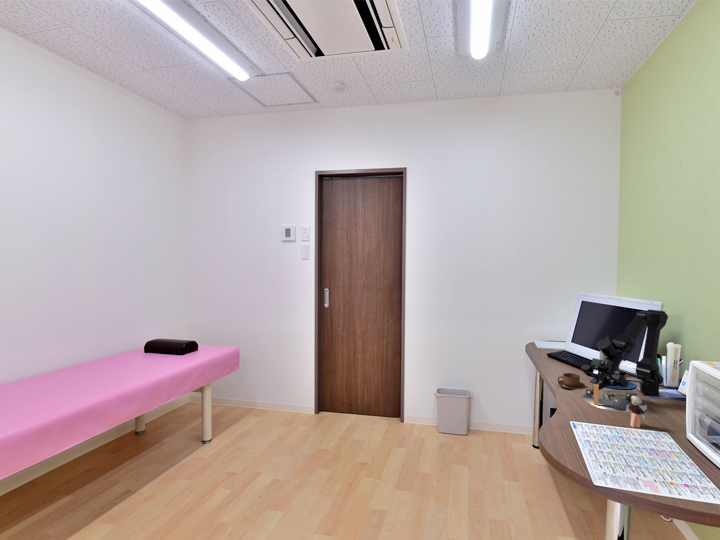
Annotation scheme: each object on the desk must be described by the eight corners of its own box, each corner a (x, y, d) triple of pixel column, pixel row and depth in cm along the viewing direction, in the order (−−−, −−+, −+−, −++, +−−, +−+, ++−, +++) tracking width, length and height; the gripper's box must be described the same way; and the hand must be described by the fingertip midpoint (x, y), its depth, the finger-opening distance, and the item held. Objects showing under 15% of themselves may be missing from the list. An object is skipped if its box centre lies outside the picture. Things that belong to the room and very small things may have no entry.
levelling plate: (636, 397, 183) (636, 386, 182) (656, 417, 160) (656, 405, 160) (577, 392, 190) (577, 381, 190) (588, 411, 168) (588, 399, 168)
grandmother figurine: (622, 425, 153) (622, 393, 153) (629, 424, 155) (629, 392, 154) (642, 434, 146) (642, 400, 146) (649, 432, 148) (650, 398, 147)
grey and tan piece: (626, 407, 167) (626, 387, 167) (626, 411, 163) (626, 391, 163) (593, 402, 174) (593, 383, 173) (593, 405, 170) (593, 386, 169)
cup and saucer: (566, 392, 191) (566, 379, 191) (553, 384, 203) (553, 372, 203) (590, 391, 192) (590, 378, 191) (576, 383, 204) (576, 371, 203)
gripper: (583, 347, 183) (565, 374, 179) (623, 356, 165) (604, 386, 162) (595, 361, 186) (578, 388, 182) (636, 372, 168) (618, 402, 165)
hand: (594, 391), depth 173 cm, fingers closed
